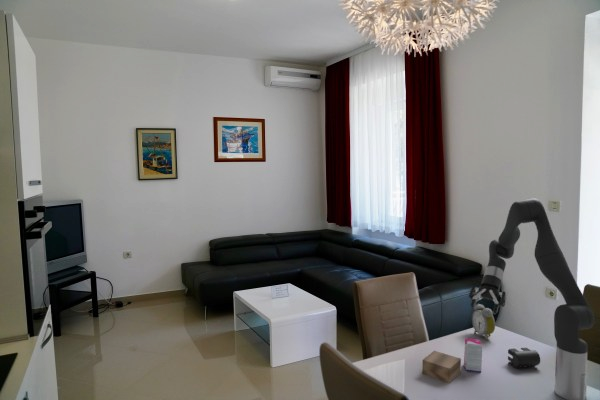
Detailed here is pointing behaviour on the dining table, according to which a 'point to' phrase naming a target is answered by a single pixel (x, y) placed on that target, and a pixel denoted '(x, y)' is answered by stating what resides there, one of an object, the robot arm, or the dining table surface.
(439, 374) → the walnut block
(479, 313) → the alarm clock
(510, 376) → the dining table surface
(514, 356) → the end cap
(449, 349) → the dining table surface
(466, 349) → the supplement box
